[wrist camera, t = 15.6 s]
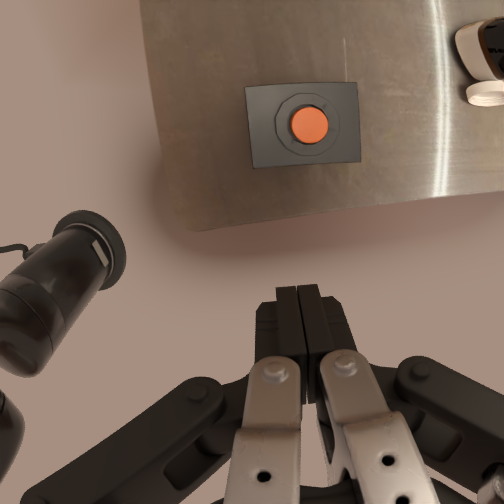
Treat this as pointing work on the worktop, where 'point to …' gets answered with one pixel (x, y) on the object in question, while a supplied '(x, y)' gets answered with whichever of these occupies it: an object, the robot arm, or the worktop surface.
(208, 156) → the worktop surface
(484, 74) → the spread jar
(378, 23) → the worktop surface
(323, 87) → the button box
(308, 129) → the button
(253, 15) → the worktop surface
